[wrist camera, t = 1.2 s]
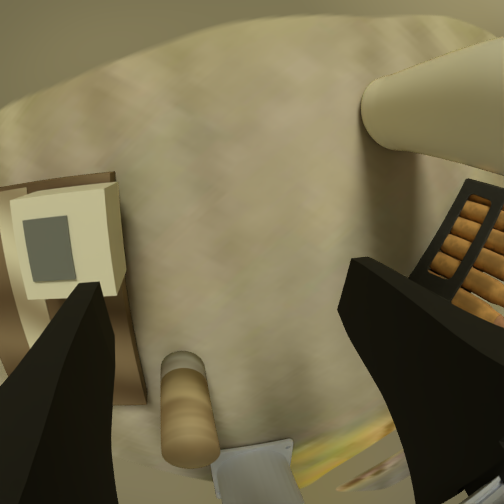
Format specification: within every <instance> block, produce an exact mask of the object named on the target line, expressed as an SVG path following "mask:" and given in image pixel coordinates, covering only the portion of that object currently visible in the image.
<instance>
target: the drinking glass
mask: <svg viewBox="0 0 504 504" xmlns="http://www.w3.org/2000/svg"><path fill="white" fill-rule="evenodd" d="M361 116H362V120H363V123H364V126H365V128H366V130H367V132H368V133H369V135H370V136H371V137H372V138H373V140H374V141H376V142H377V143H378V144H379V145H381V146H383V147H385V148H387V149H390V150H396V151H408V152H413V153H418V154H423V155H428V156H432V157H437V158H441V159H445V160H449V161H453V162H457V163H461V164H464V165H468V166H472V167H475V168H479V169H482V170H486V171H489V172H492V173H496V174H499V175H502V176H504V37H499V38H494V39H490V40H486V41H483V42H479V43H476V44H473V45H470V46H467V47H464V48H461V49H458V50H455V51H452V52H449V53H446V54H444V55H441V56H438V57H436V58H433V59H430V60H427V61H425V62H422V63H420V64H417V65H414V66H412V67H409V68H407V69H404V70H402V71H399V72H396V73H394V74H390V75H387V76H383V77H380V78H377V79H376V80H374V81H373V82H371V83H370V84H369V85H368V87H367V88H366V89H365V91H364V93H363V96H362V100H361Z"/></svg>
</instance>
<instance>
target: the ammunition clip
mask: <svg viewBox="0 0 504 504" xmlns="http://www.w3.org/2000/svg"><path fill="white" fill-rule="evenodd" d="M452 257H453V258H452ZM454 258H456V259H458V260H460V261H461V262H460V261H458V260H456V259H454ZM472 266H473V267H472ZM483 272H485V273H487V274H489V275H491V276H493V277H495V278H497V279H499V280H501V281H504V188H501V187H498V186H494V185H491V184H487V183H484V182H480V181H476V180H472V179H469V178H468V179H466V180H465V182H464V184H463V186H462V188H461V190H460V192H459V194H458V196H457V197H456V199H455V201H454V203H453V205H452V207H451V209H450V210H449V212H448V214H447V216H446V218H445V219H444V221H443V223H442V225H441V226H440V228H439V230H438V232H437V233H436V235H435V237H434V238H433V240H432V242H431V243H430V245H429V247H428V248H427V250H426V251H425V253H424V255H423V256H422V258H421V259H420V261H419V263H418V264H417V266H416V267H415V269H414V270H413V272H412V273H411V275H410V277H409V278H408V279H410V280H412V281H413V282H415V283H417V284H418V285H420V286H422V287H423V288H425V289H427V290H428V291H430V292H432V293H434V294H435V295H437V296H439V297H441V298H442V299H444V300H446V301H448V302H450V303H452V304H453V305H455V306H457V307H459V308H461V309H463V310H465V311H467V312H469V313H471V314H473V315H475V316H477V317H479V318H482V319H484V320H486V321H488V322H491V323H493V324H495V325H498V326H500V327H503V328H504V317H503V316H502V315H501V314H499V313H498V312H496V311H495V310H494V309H493V308H492V307H491V306H490V305H489V304H487V303H486V302H484V301H483V300H481V299H479V298H478V297H476V296H474V295H472V294H471V292H473V293H474V294H476V295H478V296H480V297H481V298H483V299H485V300H487V301H488V302H490V303H493V304H496V305H500V306H501V307H503V308H504V285H503V284H502V283H501V282H500V281H498V280H496V279H494V278H492V277H490V276H489V275H487V274H485V273H483ZM439 275H442V276H443V277H445V278H447V279H445V278H443V277H441V276H439Z"/></svg>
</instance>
